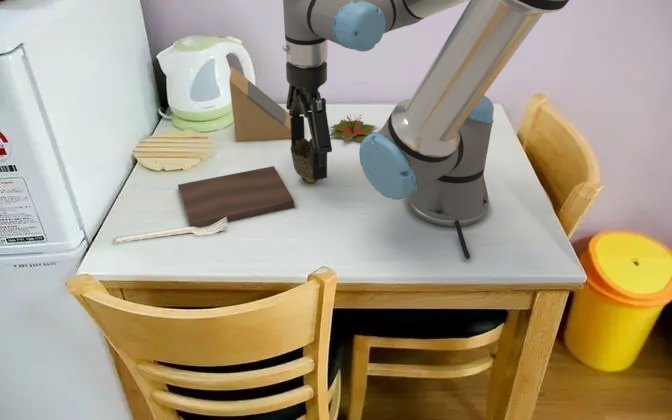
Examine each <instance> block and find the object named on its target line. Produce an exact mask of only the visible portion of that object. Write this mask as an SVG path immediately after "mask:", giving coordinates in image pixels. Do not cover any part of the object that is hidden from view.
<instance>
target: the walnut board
mask: <svg viewBox="0 0 672 420" xmlns="http://www.w3.org/2000/svg"><path fill="white" fill-rule="evenodd" d="M177 188H178V192H179V196H180V199H181V202H182V206H183V209H184V212H185V216H186V219H187V222H188V225H189V227H192V226H194V227H198V228H201V227H206V226H209V225H212V224H214V223H216V222H218V221H220V220H221V219H223V218H225V217H227V218H226V219H227V220H226V219H224V220H226V221H227V223H228V222H233V221H237V220H242V219H247V218H252V217H257V216H260V215H261V216H262V215H265V214H269V213H270V214H271V213H275V212H279V211H283V210H288V209H289V210H290V209H292V208H293V209H294V208H295V200H294V198H293V197H292V195H291V193H290V191H289V190H288V188H287V186H286V185H285V182H284V181H283V179H282V178H281V176H280V174H279V172H278V171H277V169H276V167H275V166H274V165H273V166H266V167H262V168H256V169H252V170H246V171H242V172H241V171H240V172H236V173H231V174H226V175H225V174H224V175H221V176H220V175H219V176H215V177H209V178H204V179H200V180H195V181H190V182H184V183H179V184H177ZM224 220H223V221H224ZM226 221H225V222H226ZM225 222H224V223H225ZM218 224H219V223H218ZM209 227H210V226H209ZM206 228H207V227H206Z"/></svg>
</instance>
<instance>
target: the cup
mask: <svg viewBox="0 0 672 420" xmlns="http://www.w3.org/2000/svg"><path fill="white" fill-rule="evenodd" d="M312 149H314V146H313V142H312V137H311V138H310V139H309V140H308V139H307V138H305V137H304V138H303V139H302V140H301V141H300V142H299V141H298V140H297V141H296V146H294V147H293V145H291V144H290V154H291V159H292V164H293V167H294V170H295V172H296V174H297V175H299V176H300V178H301V180H302V182H303V183H304V184H308V185H313V184H316V183H317V182H318V181H320V179H318V180H313V171H312V153H311V150H312Z"/></svg>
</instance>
